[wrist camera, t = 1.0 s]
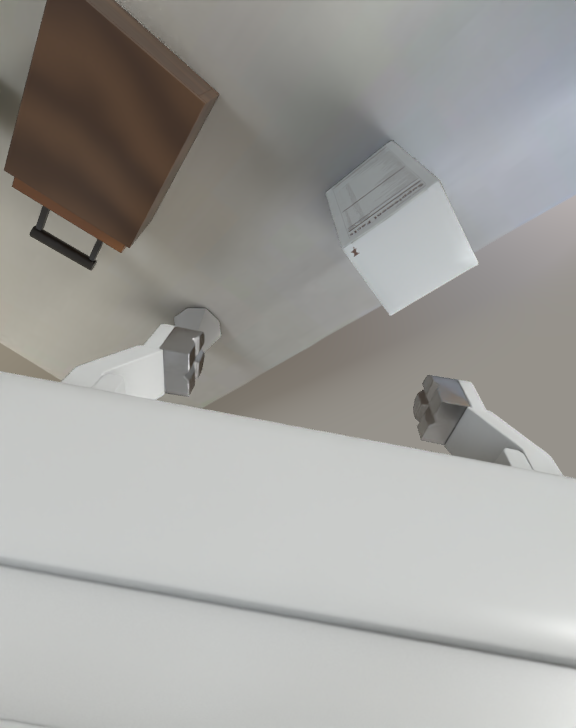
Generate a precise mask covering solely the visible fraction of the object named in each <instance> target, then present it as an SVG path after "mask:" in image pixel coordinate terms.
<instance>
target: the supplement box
mask: <svg viewBox="0 0 576 728" xmlns="http://www.w3.org/2000/svg"><path fill="white" fill-rule="evenodd" d="M326 197H327V200H328V204H329V207H330V211H331V214H332V218H333V221H334V224H335V228H336V231H337V234H338V238H339V241H340V245H341V248H342V249H343V251H344V252H345V254H346V255H347V256H348V258H349V259H350V261H351V262H352V263H353V265H354V266H355V268H356V269H357V270H358V272H359V273H360V275H361V276H362V277H363V279H364V280H365V282H366V283H367V284H368V286H369V287H370V288H371V290H372V291H373V293H374V294H375V295H376V297H377V298H378V300H379V301H380V302H381V304H382V305H383V307H384V308H385V309H386V311H387V312H388V314H389V315H390V316H391V315H393V314H394V313H396V312H398V311H399V310H401V309H403V308H404V307H406V306H408V305H409V304H411V303H413V302H415V301H416V300H418V299H420V298H421V297H423V296H425V295H426V294H428V293H430V292H432V291H433V290H435V289H437V288H438V287H440V286H442V285H443V284H445V283H447V282H449V281H450V280H452V279H454V278H455V277H457V276H459V275H461V274H462V273H464V272H466V271H468V270H469V269H471V268H473V267H474V266H476V265H478V264H479V263H478V261H477V259H476V257H475V255H474V253H473V251H472V249H471V247H470V245H469V242H468V240H467V238H466V236H465V234H464V232H463V229H462V227H461V225H460V223H459V221H458V219H457V217H456V214H455V212H454V210H453V208H452V206H451V204H450V201H449V199H448V197H447V195H446V193H445V191H444V188H443V186H442V184H441V182H440V180H439V179H438V178H437V177H436V176H435V175H434V174H433V173H431V172H430V171H429V170H428V169H426V168H425V167H424V166H423V165H422V164H421V163H420V162H419V161H417V160H416V159H415V158H414V157H412V156H411V155H410V154H408V153H407V152H406V151H405V150H404V149H403V148H401V147H400V146H399V145H398V144H397V143H396V142H394V141H390V142H388V143H387V144H386V145H384V146H383V147H382V148H381V149H379V150H378V151H377V152H376V153H374V154H373V155H372V156H370V157H369V158H368V159H367V160H366V161H364V162H363V163H362V164H361V165H359V166H358V167H357V168H356V169H354V170H353V171H352V172H351V173H349V174H348V175H347V176H346V177H344V178H343V179H342V180H341V181H339V182H338V183H337V184H336V185H334V186H333V187H332V188H331V189H329V190H328V191H327V192H326Z"/></svg>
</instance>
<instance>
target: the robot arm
mask: <svg viewBox="0 0 576 728" xmlns="http://www.w3.org/2000/svg"><path fill="white" fill-rule="evenodd" d="M204 343H205V334H204V332H201V331H197V330H192V329H187V328H182V327H178V326H177V327H176V326H173V325H167V324H160V325H159V327H158V328H157V329H156V330H155V332H154V333H153V334H152V335H151V337H150V338H149V339H148V340H147V341H146V343H145V344H144V345H143V346H141V345H138V346H135V347H132V348H129V349H126V350H123V351H120V352H117V353H114V354H112V355H109V356H106V357H103V358H100V359H97V360H94V361H91V362H88V363H85V364H82V365H79V366H76V367H75V368H74V369H73V370H72V371H71V372H70V373H69V374H68V375H67V376H66V377H65V378H64V379H63V380H62V381H61V382H55V381H50V380H44V379H39V378H34V377H29V376H23V375H18V374H13V373H7V372H2V371H0V728H576V478H570V477H566V476H563V475H562V473H561V472H560V470H559V468H558V467H557V465H556V464H555V462H554V461H553V459H552V457H551V456H550V455H549V454H547V453H546V452H545V451H543V450H542V449H541V448H539V447H538V446H537V445H535V444H534V443H533V442H531V441H530V440H529V439H527V438H526V437H525V436H523V435H522V434H521V433H519V432H518V431H517V430H515V429H514V428H513V427H511V426H510V425H509V424H507V423H506V422H504V421H503V420H501V419H500V418H499V417H498V416H496V415H495V414H494V413H492V412H491V411H487V410H486V408H485V406H484V405H483V403H482V401H481V399H480V397H479V395H478V393H477V391H476V389H475V388H474V386H473V384H472V383H471V382H469V381H464V380H457V379H450V378H444V377H438V376H432V375H427V377H426V378H425V380H424V381H423V383H422V384H423V387H424V390H422V391H421V392H419V393H418V394H417V396H416V398H415V401H414V407H413V412H414V417H415V419H416V420H418V421H419V424H418V426H417V428H418V431H419V435H420V438H421V440H423V441H427V442H432V443H437V444H441V445H445V448H446V449H447V450H448V451H449V452H450V453H451V455H448V454H442V453H437V452H432V451H426V450H421V449H416V448H410V447H405V446H399V445H394V444H389V443H383V442H377V441H373V440H367V439H362V438H356V437H351V436H346V435H340V434H335V433H330V432H324V431H318V430H313V429H308V428H303V427H297V426H292V425H287V424H281V423H276V422H270V421H265V420H260V419H254V418H249V417H244V416H238V415H233V414H227V413H222V412H217V411H211V410H206V409H201V408H195V407H190V406H185V405H179V404H174V403H168V402H163V401H158V400H156V399H158V398H159V397H161V396H163V395H164V394H165V393H168V394H174V395H180V396H187V397H189V396H190V394H191V392H192V390H193V388H194V386H195V379H196V378H198V377H199V376H200V373H201V371H202V367H203V362H204V352H203V350H202V349H201V348H202V346H203V345H204Z"/></svg>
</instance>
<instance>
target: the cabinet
mask: <svg viewBox="0 0 576 728" xmlns="http://www.w3.org/2000/svg"><path fill="white" fill-rule="evenodd" d="M218 96H219V93H217V92H216V91H215V90H214V89H213V88H212V87H211V86H210V85H209V84H207V83H206V82H205V81H204V80H203V79H202V78H201V77H200V76H198V75H197V74H196V73H195V72H194V71H193V70H192V69H191V68H189V67H188V66H187V65H186V64H185V63H184V62H183V61H182V60H180V59H179V58H178V57H177V56H176V55H175V54H174V53H173V52H171V51H170V50H169V49H168V48H167V47H166V46H165V45H164V44H163V43H161V42H160V41H159V40H158V39H157V38H156V37H155V36H154V35H152V34H151V33H150V32H149V31H148V30H147V29H146V28H145V27H143V26H142V25H141V24H140V23H139V22H138V21H137V20H136V19H134V18H133V17H132V16H131V15H130V14H129V13H128V12H127V11H126V10H124V9H123V8H122V7H121V6H120V5H119V4H118V3H117V2H115V1H114V0H47V2H46V6H45V10H44V14H43V18H42V22H41V26H40V30H39V34H38V37H37V41H36V45H35V49H34V53H33V57H32V61H31V65H30V69H29V73H28V77H27V81H26V85H25V89H24V93H23V97H22V101H21V105H20V109H19V113H18V116H17V120H16V124H15V128H14V132H13V136H12V140H11V144H10V148H9V152H8V156H7V160H6V164H5V168H4V171H6V172H8V173H9V174H11V175H12V176H14V177H16V178H17V179H19V180H21V181H22V182H24V183H25V184H27V185H29V186H30V187H32V188H33V189H35V190H37V191H38V192H40V193H41V194H43V195H45V196H46V197H48V198H49V199H51V200H53V201H54V202H56V203H58V204H59V205H61V206H62V207H64V208H66V209H67V210H69V211H70V212H72V213H74V214H75V215H77V216H78V217H80V218H82V219H83V220H85V221H87V222H88V223H90V224H91V225H93V226H95V227H96V228H98V229H99V230H101V231H103V232H104V233H106V234H107V235H109V236H111V237H112V238H114V239H115V240H117V241H119V242H120V243H122V244H124V245H125V246H127V247H128V248H130V247H131V246H132V245H133V243H134V242H135V241H136V239H137V238H138V237H139V236H140V234H141V233H142V232H143V231H144V229H145V228H146V227H147V226H148V224H149V223H150V222H151V220H152V219H153V217H154V215H155V213H156V211H157V209H158V208H159V206H160V204H161V202H162V200H163V198H164V196H165V195H166V193H167V191H168V189H169V187H170V185H171V183H172V181H173V180H174V178H175V176H176V174H177V172H178V170H179V168H180V167H181V165H182V163H183V161H184V159H185V157H186V155H187V154H188V152H189V150H190V148H191V146H192V144H193V142H194V141H195V139H196V137H197V135H198V133H199V131H200V129H201V128H202V126H203V124H204V122H205V120H206V118H207V116H208V115H209V113H210V111H211V109H212V107H213V105H214V103H215V102H216V100H217V98H218Z"/></svg>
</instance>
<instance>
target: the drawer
mask: <svg viewBox="0 0 576 728" xmlns="http://www.w3.org/2000/svg"><path fill="white" fill-rule="evenodd" d="M12 187H14V188H15V189H17V190H19V191H20V192H22V193H23V194H25V195H27V196H28V197H30V198H32V199H33V200H35V201H37V202H38V203H40V204H41V205H43V207H42V210H41V213H40V216H39V219H38V222H37V225H36V226H34V227H33V228H32V230H31V232H30V236H31V237H33V238H34V239H36V240H38V241H40V242H41V243H43V244H45V245H47V246H48V247H50V248H52V249H54V250H55V251H57V252H59V253H61V254H63V255H64V256H66V257H68V258H70V259H71V260H73V261H75V262H77V263H78V264H80V265H82V266H84V267H85V268H87V269H89V270H92V269H93V268H94V266H95V265H96V263H97V261H96V260H95V259H96V257H97V255H98V253H99V250H100V248H101V246H102V244H103V242H104V243H105V244H107V245H109V246H110V247H112V248H114V249H115V250H117V251H119V252H120V253H122V251H123V250H124V249H125V248H126V247H127V246H125V245H124V244H122V243H120V242H119V241H117V240H115V239H114V238H112V237H111V236H109V235H107V234H106V233H104V232H103V231H101V230H99V229H98V228H96V227H95V226H93V225H91V224H90V223H88V222H87V221H85V220H83V219H82V218H80V217H78V216H77V215H75V214H74V213H72V212H70V211H69V210H67V209H66V208H64V207H62V206H61V205H59V204H58V203H56V202H54V201H53V200H51V199H49V198H48V197H46V196H45V195H43V194H41V193H40V192H38V191H37V190H35V189H33V188H32V187H30V186H29V185H27V184H25V183H24V182H22V181H21V180H19V179H17V178H16V177H14V181H13V185H12ZM50 210H51V211H53V212H55V213H56V214H58V215H60V216H61V217H63V218H64V219H66V220H68V221H69V222H71V223H73V224H74V225H76V226H78V227H79V228H81V229H82V230H84V231H86V232H87V233H89V234H91V235H92V236H94V237H96V238H97V241H96V244H95V246H94V248H93V250H92V252H91V254H90V257H89V256H88V255H86V254H84V253H82V252H81V251H79V250H77V249H76V248H74V247H72V246H70V245H69V244H67V243H65V242H64V241H62V240H60V239H58V238H57V237H55V236H53V235H52V234H50V233H48V232H46V231H45V230H43V228H44V226H45V223H46V220H47V217H48V214H49V211H50Z"/></svg>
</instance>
